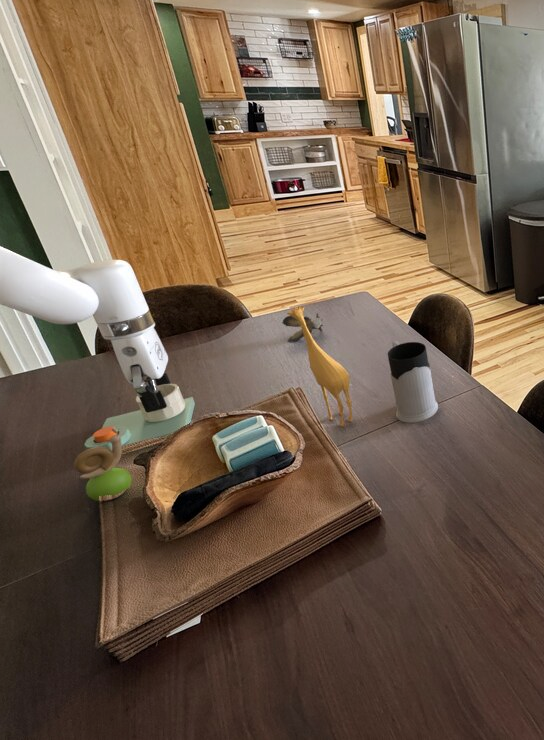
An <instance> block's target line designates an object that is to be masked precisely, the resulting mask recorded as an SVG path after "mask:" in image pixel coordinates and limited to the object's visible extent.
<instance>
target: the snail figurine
mask: <svg viewBox="0 0 544 740" xmlns="http://www.w3.org/2000/svg"><path fill="white" fill-rule="evenodd" d="M112 431H113V432H114V433H116V435H113V436H112V437H111V438H110V439H109V441H110V443H111V444H112V451H111V450H110V449H108V448H106V447H94V448H90V449H87V450H86V449H85V450H84V451H82V452H81V453H78V455H77V456H76V457H75V459H74V460H73V468H74V469H75V471H76V472H78V473H81V475H80V476H79V478H80V479H86V480H88V481H87V483H86V485H85V493H86V495H87V497H88V498H90V499H91V500H93V501H95V502H100V501H99V496H101V495H102V496H105V495H115V494H118V493H121V492H122V491H124V490H125V489H127V488H128V487H129V486H130V487H131V485H132V482H133V480H132V479H133V478H132V475H131V473H130V472H129V471H128V470H127V469H125V468H123V467H117V466H116V465H117V464H119V462H120V460H121V458H122V455H121V454H122V447H121V438H120V437H121V436H120V435H118V433H117V432H118V430H116V428H113V429H112ZM130 484H131V485H130ZM130 487H129V488H130Z"/></svg>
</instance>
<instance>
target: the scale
mask: <svg viewBox="0 0 544 740" xmlns="http://www.w3.org/2000/svg"><path fill="white" fill-rule="evenodd" d="M183 399H184V402H185V408H184V410H183V411H182V412H181V413H179V414H178V415H176V416H174V417H172V418H170V419H167V420H164V421H159V422H148V421H146V420H145V419H144V418H143V415H142V413H141V411H140V409H138V410H134V411H131V412H126V413H123V414H118V415H115V416H111V417H108V418H106V419H105V421H104V423H103V425H102V427H101V429H103V428H106V427H115V428H116V430H118V432H117V433H118V435H120V436H121V437H120V438H121V447H122V446H124V445H128V444H131V443H135V442H139V441H142V440H146V439H152V438H159V437H165V436H167V435H169V434H171V433H173V432H174V431H176V430H178V429H180V428H181V427H183V426H185V425H187V424H189V423H190V422H191V423H192V419H193V413H194V409H195V406H196V403H195V400H194V397H193V396H190V397H187V398H183ZM191 423H190V424H191ZM84 442H85V443H83V445H84V448H85V450H87V449H90V448H94V447H106V448H108V449H110V450H112V444H111V443H110V441H106V442H102V443H97V442H96V441H95V439H94V437H93V435H91V436H90V437H89V438H87V439H86V440H85V441H84Z"/></svg>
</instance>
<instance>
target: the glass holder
mask: <svg viewBox="0 0 544 740" xmlns="http://www.w3.org/2000/svg"><path fill="white" fill-rule="evenodd" d="M387 359H388V364H389V369H390V379H391V384H392V390H393V394H394V400H395V403H396V413H395V415H396V416H395V417H396V418H397V419H398V421H400V422H403V423H406V424H415V423H419V422H423V421H426V420H427V419H429V418H431V417H433V416H434V415H435V414H436V413H437V412H438V409H439V404H438V402H437V400H436V397H435V392H434V390H435V389H434V384H433V379H432V373H431V365H430V363H429V357H428V352H427V346H426V345H425V344H424V343H422V342H419V341H409V342H403V343H400V344H399V342H398V341H397V340H395V341H393V342H392V347H391V348H390V349H389V350H388V352H387Z"/></svg>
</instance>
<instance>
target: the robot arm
mask: <svg viewBox="0 0 544 740" xmlns="http://www.w3.org/2000/svg"><path fill="white" fill-rule="evenodd" d="M134 271H135V270H134V269H133V267H132V265H131V264H130V263H129V262H127V261H126V260H122V259H106V260H99V261H94V262H91V263H87V264H84V265H82V266H79V267H72V268H66V269H58V270H54V269H52V268H50V267H48V266H45V265H43V264H41V263H38V262H36V261H35V260H32V259H30V258H28V257H25V256H23V255H21V254H18V253H17V252H13V251H11V250H9V249H7V248H4V247H3V246H1V245H0V305H1V306H4V307H7V308H9V309H12V310H15V311H18V312H20V313H23V314H25V315H29V316H31V317H34V318H37V319H40V320H43V321H45V322H47V323H51V324H53V325H54V324H55V325H74V324H78V323H81V322H83V321H86V320H87V319H89V318H91V317H93V319H94V322H95V323H96V326H97V327H98V330H99V332H100V334H101V336H102V339H104V340H110V343H111V345H112V348H113V351H114V353H115V357H116V360H117V362H118V365H119V367H120V369H121V372H122V373H123V376H124V377H125V380H126V381H127V383H128V384H129V385H132V386H133V390H134V391H135V392H136V393H137V396H138V397H139V398H140V400H141V402H142V405H143V407H144V409H145V411H146V412H147V413H148V412H152V411H156V410H160V409H164V408H166V407H167V404H166V402H165V399H164V397H163V395H162V392H161V390H159V391H158V388H157V386H159V385H163V384H172V383H171V380H170V378H169V375H168V373H167V372H166V368H167V365H168V362H169V356H168V353H167V351H166V349H165V347H164V345H163V343H162V341H161V338H160V337H159V334H158V333H157V331H156V329H155V326H156V322H155V321H154V318H153V316H152V313H151V311H150V308H149V305H148V303H147V301H146V299H145V296H144V294H143V292H142V291H143V290H142V289H141V286H140V284H139V281H138V279H137V276H136V274H135V272H134ZM144 377H146V378H145V379H144ZM146 383H147V384H148V385H146Z"/></svg>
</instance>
